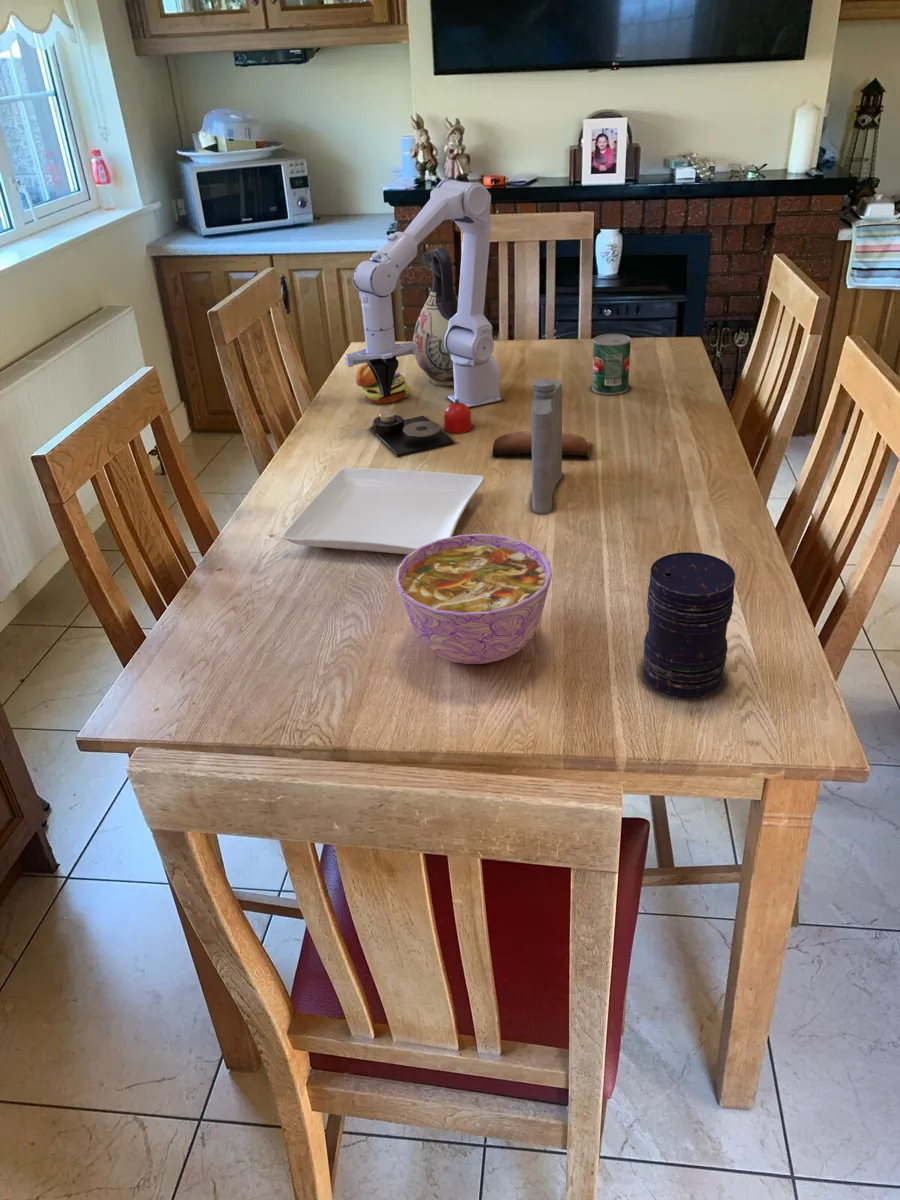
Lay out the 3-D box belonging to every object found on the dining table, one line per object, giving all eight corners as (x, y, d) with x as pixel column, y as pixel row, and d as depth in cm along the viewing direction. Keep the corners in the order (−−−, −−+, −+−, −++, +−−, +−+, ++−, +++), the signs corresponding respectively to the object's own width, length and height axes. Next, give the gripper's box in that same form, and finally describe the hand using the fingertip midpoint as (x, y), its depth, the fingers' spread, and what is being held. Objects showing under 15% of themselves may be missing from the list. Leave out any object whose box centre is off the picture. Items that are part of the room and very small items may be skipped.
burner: (432, 419, 187) (431, 418, 187) (446, 432, 181) (446, 430, 181) (397, 427, 184) (397, 425, 184) (411, 440, 178) (411, 438, 178)
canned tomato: (585, 387, 203) (586, 337, 198) (615, 380, 206) (617, 331, 200) (605, 397, 197) (606, 347, 191) (635, 390, 200) (638, 340, 194)
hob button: (392, 418, 188) (392, 409, 187) (398, 423, 186) (397, 414, 185) (378, 421, 187) (377, 412, 186) (383, 426, 185) (382, 417, 184)
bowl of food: (371, 649, 123) (362, 576, 117) (475, 589, 135) (471, 519, 129) (479, 713, 111) (474, 634, 105) (583, 640, 122) (584, 566, 116)
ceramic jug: (408, 375, 217) (396, 242, 201) (470, 365, 220) (463, 233, 204) (428, 398, 203) (417, 257, 187) (494, 387, 207) (489, 247, 191)
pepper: (464, 421, 191) (463, 392, 187) (475, 429, 186) (474, 400, 183) (440, 426, 189) (439, 397, 186) (451, 435, 185) (449, 405, 181)
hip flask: (550, 514, 153) (550, 399, 143) (526, 512, 154) (524, 398, 144) (562, 473, 166) (563, 365, 156) (540, 472, 167) (539, 365, 157)
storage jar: (711, 649, 119) (723, 549, 111) (733, 696, 111) (748, 592, 103) (634, 654, 119) (641, 554, 111) (651, 702, 111) (659, 598, 103)
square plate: (486, 492, 162) (486, 472, 160) (444, 571, 140) (443, 549, 138) (343, 482, 169) (340, 463, 166) (281, 556, 147) (277, 534, 144)
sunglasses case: (590, 440, 177) (590, 418, 171) (588, 470, 174) (588, 449, 168) (497, 438, 180) (494, 417, 174) (494, 468, 177) (490, 448, 171)
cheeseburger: (410, 403, 200) (395, 361, 195) (364, 417, 202) (348, 375, 197) (412, 387, 209) (398, 345, 204) (368, 400, 211) (353, 359, 205)
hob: (423, 418, 193) (422, 406, 192) (454, 443, 181) (453, 431, 179) (369, 429, 190) (368, 417, 188) (397, 456, 177) (395, 444, 176)
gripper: (349, 338, 171) (357, 408, 178) (421, 325, 175) (426, 394, 183) (338, 329, 176) (346, 397, 184) (408, 317, 181) (413, 383, 188)
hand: (385, 395), depth 184 cm, fingers closed
